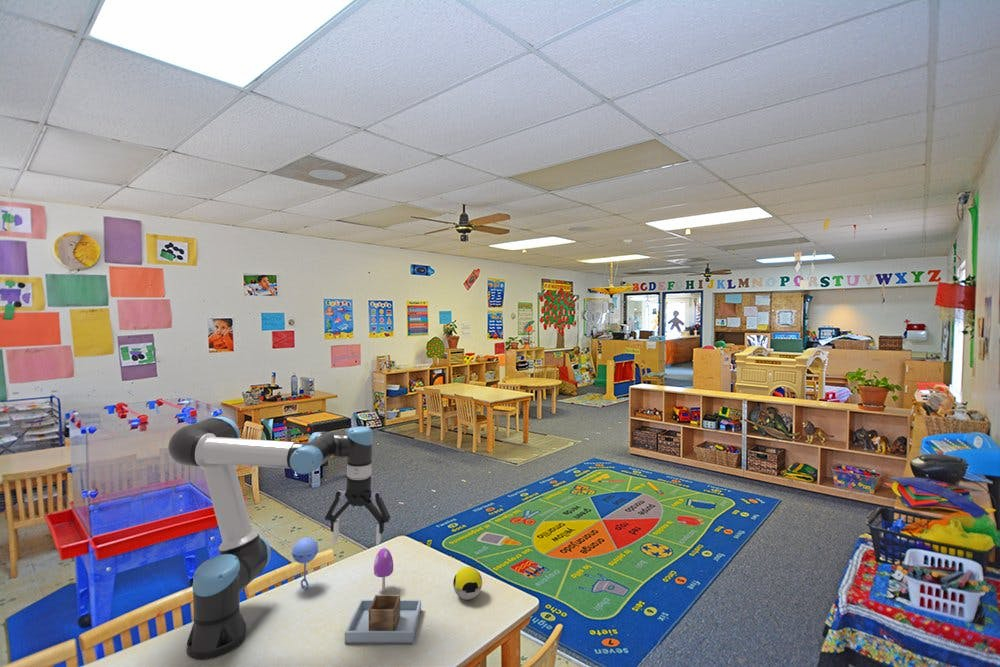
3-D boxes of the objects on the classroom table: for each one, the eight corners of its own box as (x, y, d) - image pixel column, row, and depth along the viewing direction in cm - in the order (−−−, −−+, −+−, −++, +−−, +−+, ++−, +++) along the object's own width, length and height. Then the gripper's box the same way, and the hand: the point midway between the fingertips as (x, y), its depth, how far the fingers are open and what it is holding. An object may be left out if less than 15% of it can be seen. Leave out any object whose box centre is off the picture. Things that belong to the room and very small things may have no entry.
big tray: (344, 644, 137) (344, 632, 136) (360, 609, 153) (360, 599, 152) (412, 644, 137) (412, 632, 137) (421, 610, 153) (421, 599, 153)
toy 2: (478, 586, 166) (478, 559, 166) (485, 604, 156) (485, 575, 156) (450, 591, 164) (451, 563, 163) (456, 608, 154) (456, 579, 153)
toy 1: (388, 597, 160) (388, 554, 159) (370, 594, 161) (370, 552, 161) (396, 586, 166) (396, 545, 166) (379, 583, 168) (379, 543, 167)
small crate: (368, 633, 141) (368, 610, 140) (375, 616, 149) (375, 594, 148) (395, 633, 141) (395, 610, 140) (400, 616, 149) (400, 594, 148)
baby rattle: (323, 586, 166) (323, 537, 165) (302, 598, 158) (301, 547, 158) (308, 579, 170) (308, 530, 170) (286, 590, 163) (286, 540, 162)
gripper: (315, 478, 143) (313, 546, 144) (395, 482, 143) (393, 549, 144) (324, 470, 151) (322, 534, 152) (400, 474, 151) (398, 537, 152)
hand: (357, 542), depth 148 cm, fingers open, 13 cm apart
